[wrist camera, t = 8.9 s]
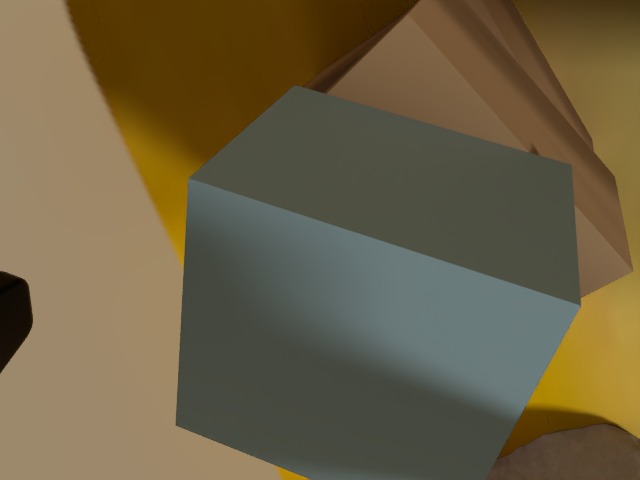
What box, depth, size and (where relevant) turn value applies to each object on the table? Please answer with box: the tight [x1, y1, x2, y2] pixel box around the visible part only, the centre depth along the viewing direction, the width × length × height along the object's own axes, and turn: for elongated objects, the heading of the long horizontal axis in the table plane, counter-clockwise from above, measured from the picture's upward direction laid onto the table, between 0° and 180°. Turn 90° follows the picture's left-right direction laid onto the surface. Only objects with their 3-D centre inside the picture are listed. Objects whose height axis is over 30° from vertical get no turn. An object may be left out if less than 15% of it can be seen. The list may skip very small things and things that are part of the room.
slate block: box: [176, 85, 581, 480], centre depth 10 cm, size 5×5×4 cm
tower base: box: [303, 0, 594, 152], centre depth 17 cm, size 6×6×4 cm
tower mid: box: [324, 0, 633, 298], centre depth 14 cm, size 6×6×4 cm
